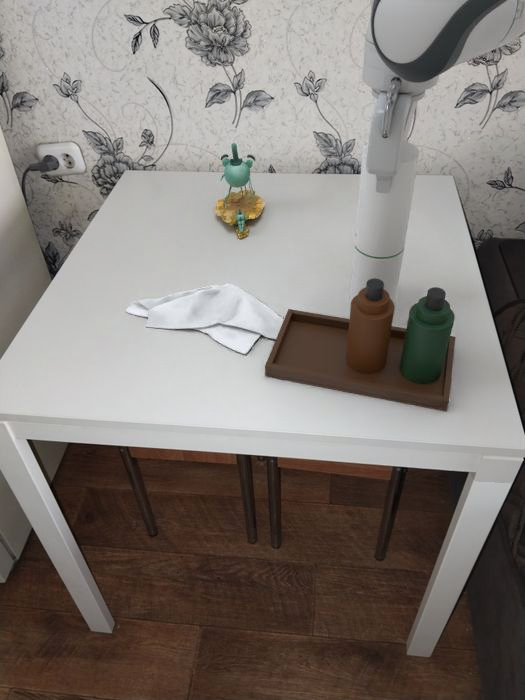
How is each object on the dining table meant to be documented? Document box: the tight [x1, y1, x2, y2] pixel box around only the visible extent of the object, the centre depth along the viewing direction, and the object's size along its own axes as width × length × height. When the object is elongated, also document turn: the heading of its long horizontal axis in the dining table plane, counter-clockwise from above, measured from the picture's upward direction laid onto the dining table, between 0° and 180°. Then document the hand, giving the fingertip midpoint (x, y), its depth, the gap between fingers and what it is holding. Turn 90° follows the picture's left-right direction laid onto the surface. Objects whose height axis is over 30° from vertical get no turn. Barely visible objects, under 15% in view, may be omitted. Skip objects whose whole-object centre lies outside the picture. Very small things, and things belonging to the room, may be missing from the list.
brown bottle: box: [346, 278, 396, 374], centre depth 78 cm, size 6×6×14 cm
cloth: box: [125, 282, 285, 355], centre depth 91 cm, size 26×14×2 cm, turn 64°
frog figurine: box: [214, 142, 266, 239], centre depth 109 cm, size 10×18×15 cm, turn 169°
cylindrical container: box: [349, 140, 420, 307], centre depth 84 cm, size 7×7×25 cm
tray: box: [264, 308, 457, 412], centre depth 83 cm, size 25×13×2 cm, turn 73°
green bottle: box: [400, 286, 456, 384], centre depth 77 cm, size 6×6×14 cm
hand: (387, 174), depth 78 cm, fingers closed on cylindrical container, 7 cm apart
